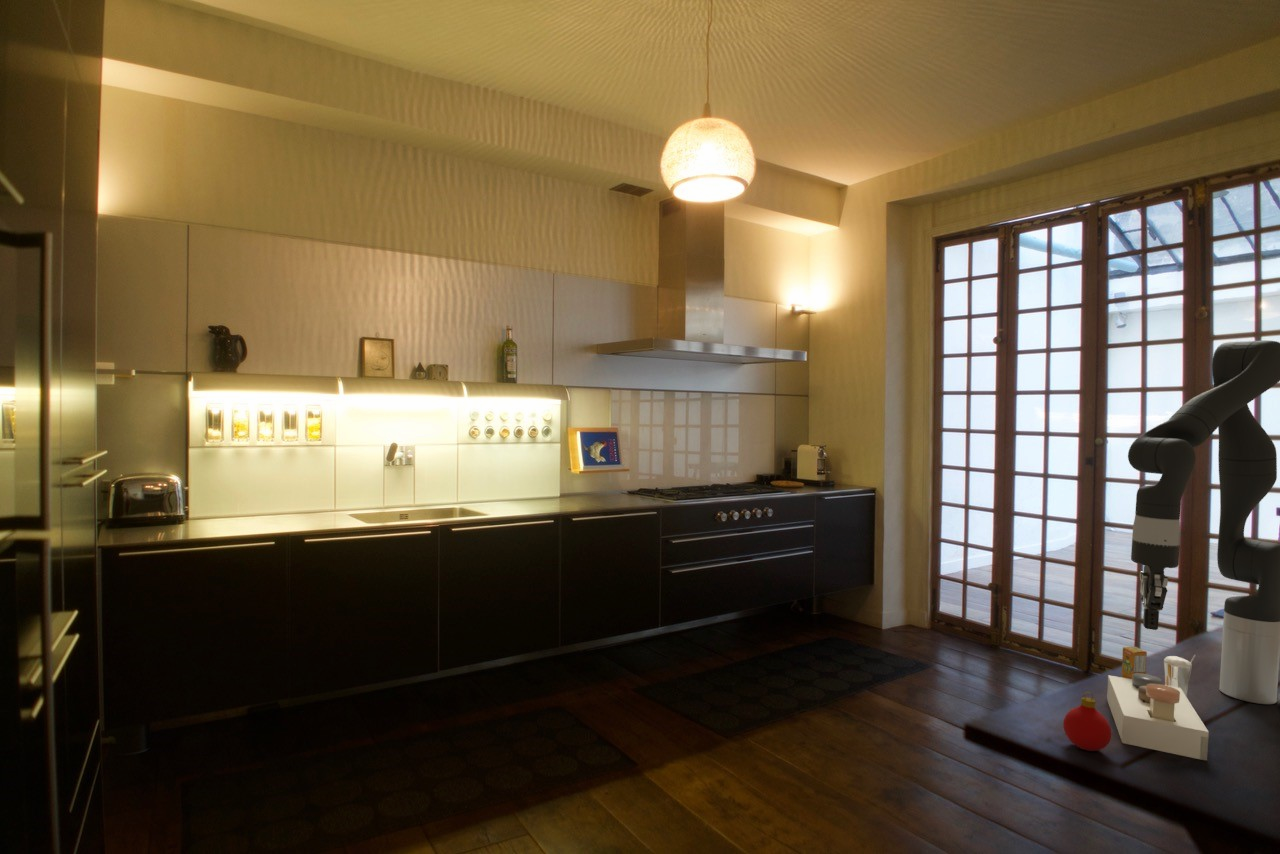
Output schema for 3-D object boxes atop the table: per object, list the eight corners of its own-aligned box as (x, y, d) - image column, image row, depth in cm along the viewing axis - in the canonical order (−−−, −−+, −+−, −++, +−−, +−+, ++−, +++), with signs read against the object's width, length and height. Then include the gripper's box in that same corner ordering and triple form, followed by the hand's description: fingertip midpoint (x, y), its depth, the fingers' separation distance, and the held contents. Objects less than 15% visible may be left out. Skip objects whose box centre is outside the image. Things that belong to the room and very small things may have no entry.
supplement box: (1118, 692, 148) (1121, 646, 148) (1133, 692, 148) (1136, 646, 148) (1130, 699, 145) (1133, 651, 145) (1146, 699, 145) (1149, 651, 145)
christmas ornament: (1093, 739, 126) (1096, 684, 126) (1119, 759, 119) (1123, 701, 119) (1053, 738, 126) (1056, 683, 126) (1078, 758, 119) (1081, 700, 119)
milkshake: (1198, 707, 142) (1201, 658, 142) (1169, 704, 143) (1171, 655, 143) (1186, 698, 146) (1189, 651, 146) (1157, 695, 148) (1160, 648, 147)
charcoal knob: (1128, 702, 142) (1130, 671, 142) (1157, 708, 140) (1159, 676, 139) (1132, 711, 138) (1134, 679, 137) (1162, 717, 135) (1164, 684, 135)
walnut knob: (1134, 716, 135) (1136, 683, 135) (1165, 722, 133) (1167, 689, 133) (1138, 726, 131) (1140, 692, 131) (1170, 732, 129) (1172, 698, 129)
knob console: (1106, 699, 145) (1108, 675, 144) (1178, 712, 139) (1180, 687, 139) (1122, 742, 125) (1123, 715, 125) (1206, 760, 120) (1208, 731, 119)
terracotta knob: (1142, 715, 129) (1144, 681, 128) (1174, 722, 126) (1176, 687, 126) (1146, 726, 124) (1148, 690, 124) (1180, 732, 122) (1182, 696, 122)
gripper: (1187, 548, 129) (1181, 641, 129) (1172, 537, 140) (1167, 623, 141) (1137, 542, 132) (1132, 633, 133) (1127, 533, 144) (1122, 616, 144)
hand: (1150, 628), depth 137 cm, fingers closed
